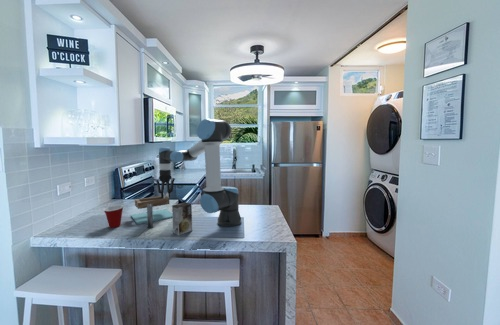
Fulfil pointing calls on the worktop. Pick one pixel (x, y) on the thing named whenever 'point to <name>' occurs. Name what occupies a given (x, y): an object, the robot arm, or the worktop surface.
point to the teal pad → (157, 216)
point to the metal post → (150, 215)
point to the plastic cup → (114, 215)
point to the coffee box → (182, 218)
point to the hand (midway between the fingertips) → (165, 202)
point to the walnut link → (151, 202)
